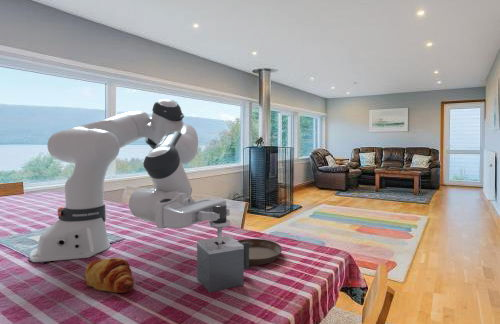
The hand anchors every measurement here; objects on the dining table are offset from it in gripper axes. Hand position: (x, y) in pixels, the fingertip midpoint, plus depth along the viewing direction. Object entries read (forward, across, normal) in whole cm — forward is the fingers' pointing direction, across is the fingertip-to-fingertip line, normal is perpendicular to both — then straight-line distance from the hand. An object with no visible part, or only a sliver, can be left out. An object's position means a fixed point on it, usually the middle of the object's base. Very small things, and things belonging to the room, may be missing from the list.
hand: (223, 214), depth 80 cm
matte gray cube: (0, -2, -17) cm, 17 cm away
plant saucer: (-1, -20, -18) cm, 27 cm away
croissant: (-25, +13, -18) cm, 34 cm away
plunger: (-1, 0, -13) cm, 13 cm away
